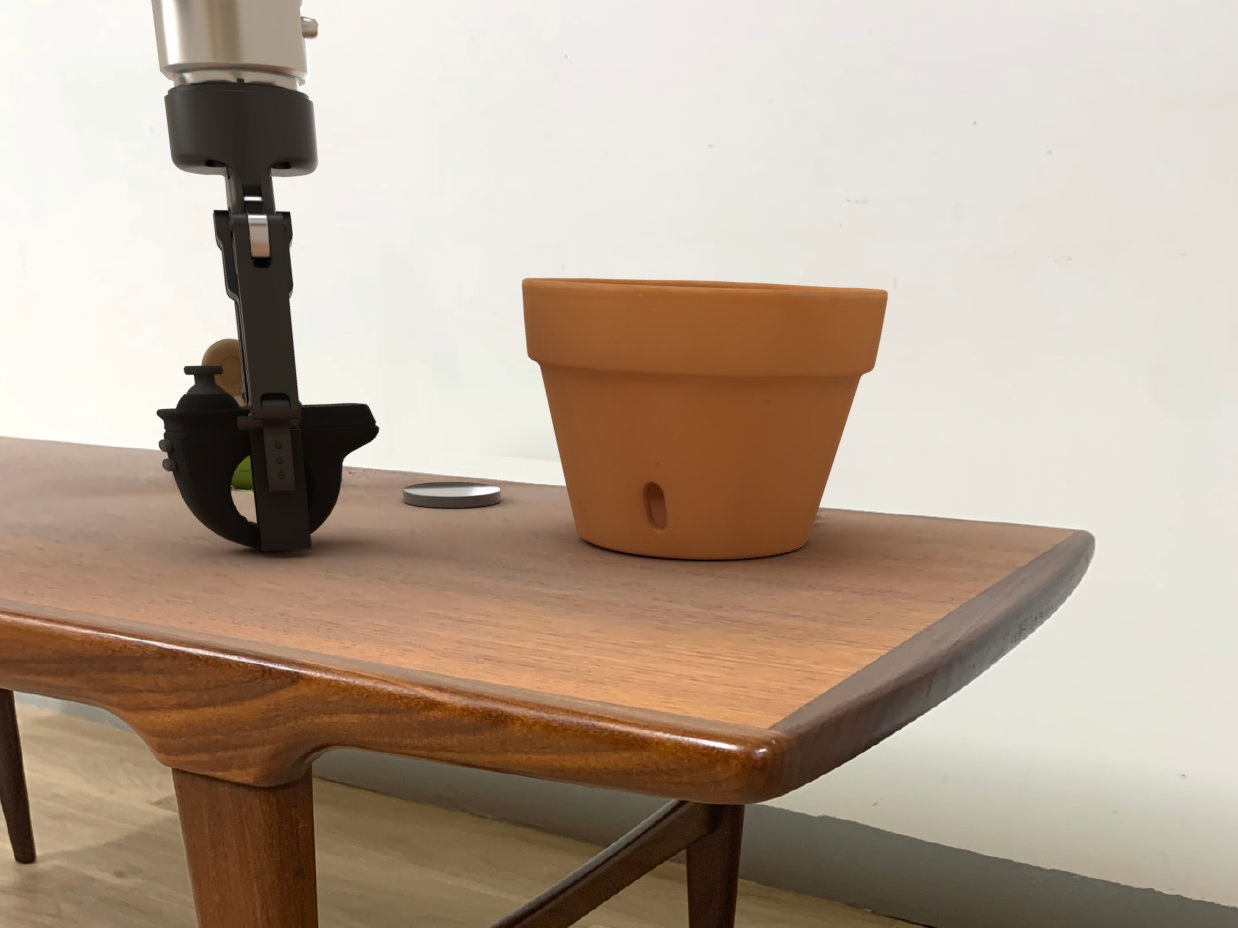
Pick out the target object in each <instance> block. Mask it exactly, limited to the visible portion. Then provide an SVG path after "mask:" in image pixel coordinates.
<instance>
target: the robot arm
mask: <svg viewBox="0 0 1238 928" xmlns="http://www.w3.org/2000/svg"><path fill="white" fill-rule="evenodd" d="M151 9H152V18H153V26H154V27H153V28H154V35H155V43H156V50H157V58H158V59H157V60H158V66H159V72H160V73H161V74H162V75H163V76H164V77H165V78H166V79H167V80H169V81H172V82H173V86H172V87H170V88H168V90H167V94H165V95H164V98H163V100H164V109H165V116H166V125H167V133H168V141H169V142H168V143H169V150H170V157H171V161H172V163H173V165H174V166H175V167H176V168H177V169H178V170H180V171H182V172H185V173H188V174H189V173H190V174H194V175H203V176H222V177H224V184H225V197H226V207H227V209H213V212H212V220H213V230H214V238H215V239H214V240H215V243H216V246H217V247H218V249H219V250H220V252H221V261H222V272H223V279H224V289H225V292H226V296H227V297H228V298H229V300H232V301H233V305H234V315H235V322H236V323H235V324H236V333H237V334H236V335H237V340H238V343H239V353H240V362H241V371H242V381H243V389H242V390H243V391H241V394H242V400H244V403H245V404H244V406H248V402H249V401H250V403H249V413H250V414H248V415H249V416H243V417H237V422H238V429H239V430H249V431H250V440H251V449H252V454H251V455H250V464H251V471H250V472H251V474H252V483H253V489H252V493H253V499H254V500H253V501H254V510H255V511H254V512H255V519H256V523H258V524H260V534H261V543H262V548H261V550H262V552H276V551H277V552H280V551H281V552H282V551H299V550H312V549H313V547H312V538H311V537H312V534H310V525H309V514H308V503H307V492H306V481H305V471H304V460H303V449H302V438H301V429H300V428H299V422H301V412H302V405H303V404H302V401H300V397H299V387H298V385H299V384H298V375H297V363H296V353H295V343H294V333H293V332H294V331H293V323H292V322H293V320H292V313H291V312H292V311H291V301H290V299H291V297H292V296H293V293H294V277H293V267H292V259H291V247H292V246H293V239H294V238H293V237H294V233H293V232H294V231H293V223H292V215H291V211H288V210H283V211H282V210H277V208H276V198H275V192H274V190H275V189H274V182H273V178H274V177H275V178H292V177H293V178H294V177H295V178H296V177H304V176H308V175H311V174H313V173H315V171H316V170H317V168H318V166H319V156H318V155H319V154H318V153H319V152H318V143H317V142H318V141H317V131H316V129H317V128H316V118H315V107H314V106H315V105H314V104H315V103H314V102H313V101H312V100H310V96H309V95H308V94H307V93H305V92H302V91H300V86H303V85H306V84H307V83H308V81H309V80H310V78H311V70H310V58H309V56H310V55H309V47H308V43H307V41H306V40H315V39H317V38H318V37H319V35H320V31H319V23H318V22H317V21H318V20H316V19H315V18H312V17H309V16H305V15H301V13H302V12H303V10H304V9H305V1H304V0H151Z"/></svg>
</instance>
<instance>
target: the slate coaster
mask: <svg viewBox="0 0 1238 928" xmlns="http://www.w3.org/2000/svg"><path fill="white" fill-rule="evenodd" d="M401 495H402V501H403V502H404V503H405V504H408V505H411V506H417V507H422V508H423V507H424V508H435V509H436V508H437V509H465V508H480V507H486V506H491V505H496V504H498V503H500V502H501V500H502V490H501V488H500V487H498V486H496V485H494V484H493V485H492V484H487V483H481V482H470V481H469V482H468V481H436V482H435V481H433V482H423V483H416V484H415V483H414V484H410V485H407V486H404V487H403V488H402V491H401Z"/></svg>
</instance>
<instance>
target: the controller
mask: <svg viewBox="0 0 1238 928" xmlns="http://www.w3.org/2000/svg"><path fill="white" fill-rule="evenodd" d="M183 374H185V375H186V376H193V381H194V384H193V385H192V386H190V387H189V389H187V391H186V393H184V394H183V395H182V396H181V397H180V398H179V400H178V401H177V404H176V406H175V407H174V408H172V407H171V408H158V409H157V410H156V416H157V417H158V418H160V420H161V421H163V429H164V432H163V438H162V439H160V440H159V441H158V449H160V451H162V452H163V453H166V455H167V458H164V459H163V460H162V462H161V465H162V469H164V470H165V471H166V472H171V473H172V476H173V479H174V481H175V484H176V486H177V488H178V491H179V493H180V496H181V498H182V500H183V502H184V503H185V505H186V507H187V508H188V509H189V511H190V512H191V514H192V515H193V516H194V517H195V518H196V519H197V520H198V522H200V523H201V524H202V525H203V526H204V527H205V528H207V529H209V530H210V532H212V533H214V534H216V536H219V537H221V538H223V539H224V540H226V541H228V542H232V543H235V544H238V545H241V546H245V547H249V548H255V549H262V543H261V534H260V524H258V523H257V522H256V521H252V520H248V517H246V516H244V515H242V514H241V513H240V512H239V510H238V508H237V506H236V504H235V502H234V498H233V495H232V486H231V482H232V477H233V475H234V472H236V471H235V470H236V469H237V467H238V466H239V464H240V463H241V462H242V461H243V460H244V459H245V458H246V457H248V456H250V455H251V454H252V449H251V440H250V431H249V430H239V429H238V422H237V417H243V416H249V415H248V414H250V413H249V403H250V401H249V402H248V406H239V404H238V402H237V401H236V400H235V398H234V397H233V396H231V395H230V394H229V393H226V392H225V390H224V389H222V388H221V387H220V386H218V385H217V384H216V383H215V377H214V375H219V374H223V367H222V366H219V365H207V366H201V365H185V366H184V367H183ZM299 428H300V429H301V438H302V449H303V460H304V471H305V481H306V492H307V503H308V514H309V525H310V535H312V534H313V533H315V532H316V531H317V530H318V529H319V528H320V527H321V526H322V525H324V523H325V522H326V521H327V519H328V518H329V516H330V515H331V514H332V512H333V510H334V508H335V507H336V505H337V502H338V499H339V496H340V493H341V488H342V483H343V468H344V467H343V466H344V465H343V463H344V461H345V459H346V458H347V457H348V456H349V455H350V454H352V453H354V452H355V451H357V450H358V449H361V448H362V447H364V446H366V445H368V444H370V443H371V442H373V440H375V438H377V436H378V434H379V433H380V427H379V426H378V425H377V421H376V419H375V416H374V414H373V411H372V410H371V408H370V406H369V405H368V404H367V403H361V402H340V403H339V402H338V403H317V404H316V403H315V404H314V403H313V404H312V403H311V404H302V412H301V422H299Z"/></svg>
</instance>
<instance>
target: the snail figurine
mask: <svg viewBox="0 0 1238 928" xmlns="http://www.w3.org/2000/svg"><path fill="white" fill-rule="evenodd" d="M207 365H219V366H222V367H223V374H219V375H214V377H215V383H216V384H217V385H218V386H220V387H221V388H222V389H224V390H225V392H226V393H229V394H230V395H231V396H233V397H234V398H235V400H236V401H237V402H238V404H239V406H244V404H245V403H244V400H242V394H241V391H243V390H242V389H243V381H242V371H241V362H240V353H239V343H238V338H229V337H228V338H222V339H219V340H217V341H214V342H213V343H212V344H211V345H209V346H208V347H207V349H206V350H205V351H204V354H203V356H202V359H201V364H200V366H207ZM231 487H234V488H237V489H243V490H253V483H252V474H251V464H250V456H248V457H246V458H245V459H244V460H243V461H242V462H241V463H240V464H239V466H238V467H237V469H236V470H235V472H234V475H233V477H232V482H231Z"/></svg>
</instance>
